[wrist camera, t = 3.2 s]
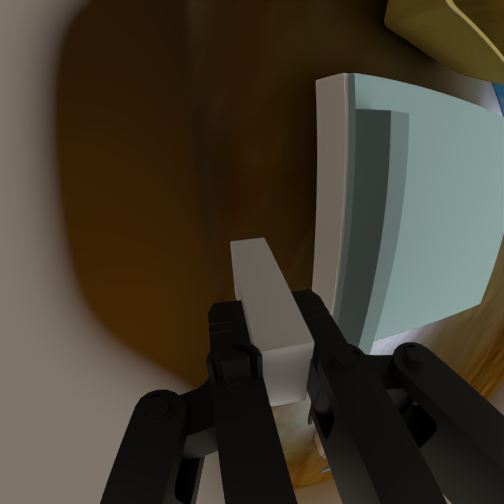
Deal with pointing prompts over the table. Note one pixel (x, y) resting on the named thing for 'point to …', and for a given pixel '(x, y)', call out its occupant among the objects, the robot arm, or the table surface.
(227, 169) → the table surface
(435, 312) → the lid
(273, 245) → the table surface
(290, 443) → the table surface
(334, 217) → the white square tray
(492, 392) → the table surface
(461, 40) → the flower pot
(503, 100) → the ink box
